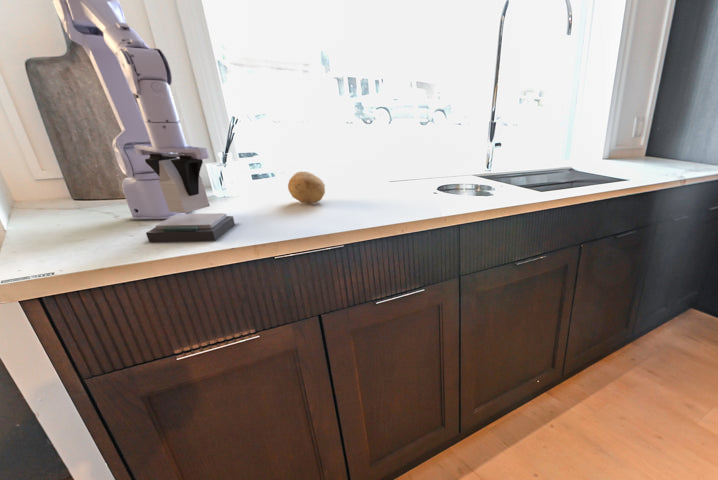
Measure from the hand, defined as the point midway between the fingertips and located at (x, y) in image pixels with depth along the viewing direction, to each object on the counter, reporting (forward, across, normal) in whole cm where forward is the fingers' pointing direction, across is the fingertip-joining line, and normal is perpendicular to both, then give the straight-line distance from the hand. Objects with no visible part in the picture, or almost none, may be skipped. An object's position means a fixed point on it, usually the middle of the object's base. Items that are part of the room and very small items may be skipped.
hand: (184, 194), depth 89 cm
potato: (+8, -7, -33) cm, 35 cm away
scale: (+8, 0, +1) cm, 8 cm away
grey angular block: (+3, 0, 0) cm, 3 cm away
